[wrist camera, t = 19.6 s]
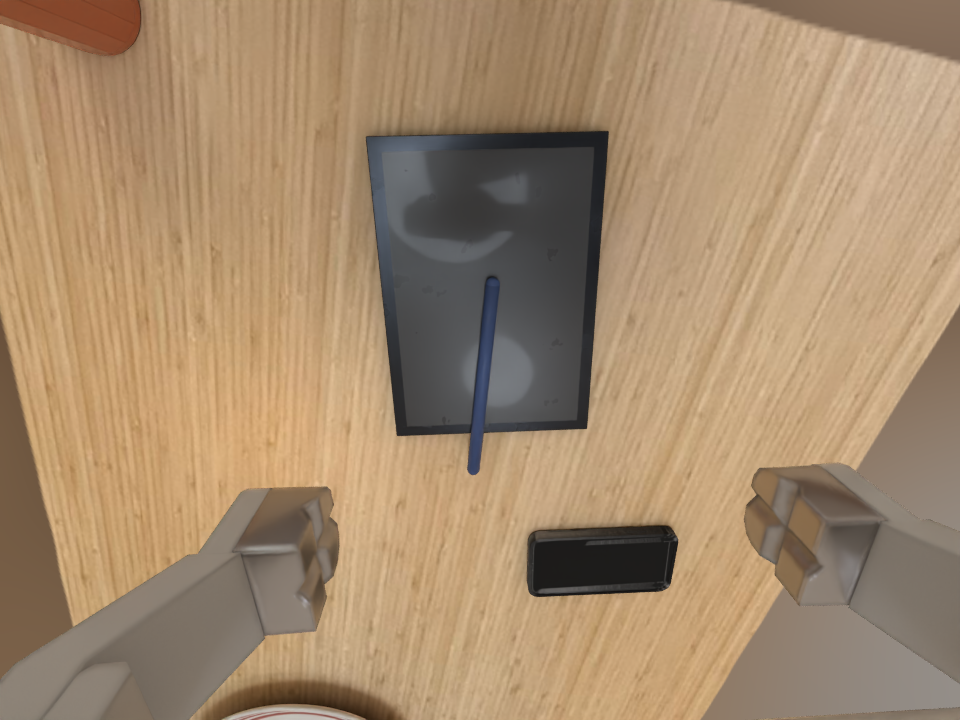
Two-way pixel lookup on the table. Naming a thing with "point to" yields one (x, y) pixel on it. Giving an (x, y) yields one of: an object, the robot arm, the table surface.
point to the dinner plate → (293, 713)
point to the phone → (600, 561)
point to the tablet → (489, 274)
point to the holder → (77, 22)
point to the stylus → (483, 373)
